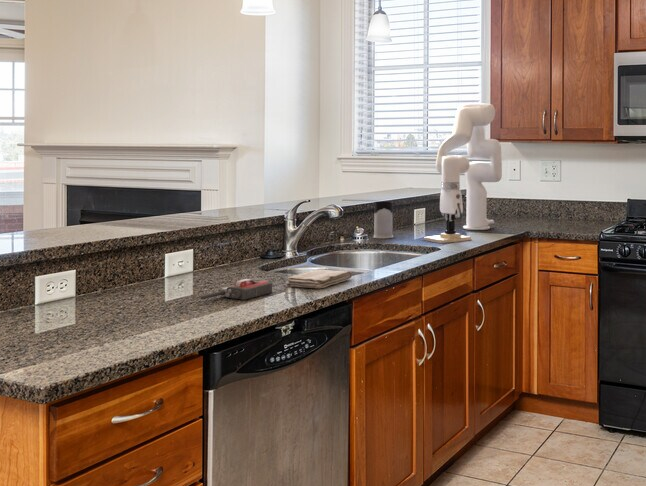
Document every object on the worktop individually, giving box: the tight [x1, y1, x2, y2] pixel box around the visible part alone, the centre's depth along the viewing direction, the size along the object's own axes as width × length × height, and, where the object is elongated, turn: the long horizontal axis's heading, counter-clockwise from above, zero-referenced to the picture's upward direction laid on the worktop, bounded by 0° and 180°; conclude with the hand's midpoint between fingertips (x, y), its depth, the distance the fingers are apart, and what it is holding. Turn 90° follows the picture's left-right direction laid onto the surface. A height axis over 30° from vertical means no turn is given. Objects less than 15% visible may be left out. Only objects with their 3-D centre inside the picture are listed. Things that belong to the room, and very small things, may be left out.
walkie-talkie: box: [199, 278, 273, 301], centre depth 198 cm, size 9×4×20 cm
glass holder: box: [372, 201, 394, 239], centre depth 323 cm, size 9×14×15 cm, turn 10°
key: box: [444, 229, 457, 234], centre depth 310 cm, size 3×3×2 cm
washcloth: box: [286, 269, 353, 290], centre depth 218 cm, size 12×18×3 cm, turn 157°
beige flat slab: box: [423, 232, 472, 244], centre depth 311 cm, size 16×12×3 cm
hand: (450, 230), depth 310 cm, fingers closed
